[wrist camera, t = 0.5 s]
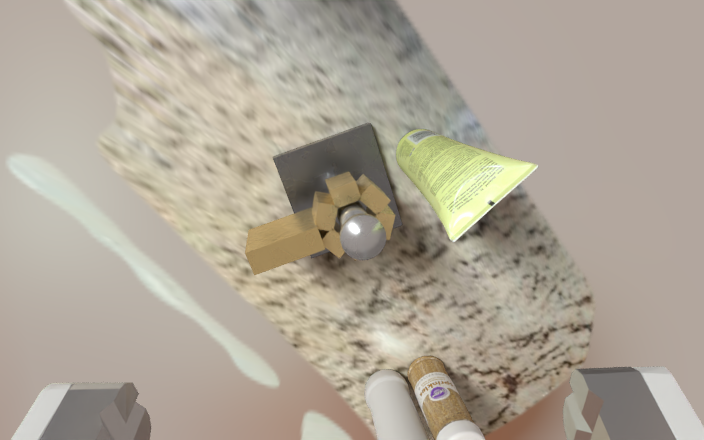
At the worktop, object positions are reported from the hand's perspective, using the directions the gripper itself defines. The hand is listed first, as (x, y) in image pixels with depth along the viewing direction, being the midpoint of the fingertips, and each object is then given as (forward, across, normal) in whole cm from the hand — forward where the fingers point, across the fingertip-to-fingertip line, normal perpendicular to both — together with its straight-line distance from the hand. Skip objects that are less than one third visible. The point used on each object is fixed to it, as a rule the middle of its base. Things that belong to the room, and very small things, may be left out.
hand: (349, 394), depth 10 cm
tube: (+41, -4, +16) cm, 45 cm away
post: (+39, +4, +19) cm, 43 cm away
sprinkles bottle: (+34, -5, +41) cm, 53 cm away
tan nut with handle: (+32, +5, +18) cm, 37 cm away
